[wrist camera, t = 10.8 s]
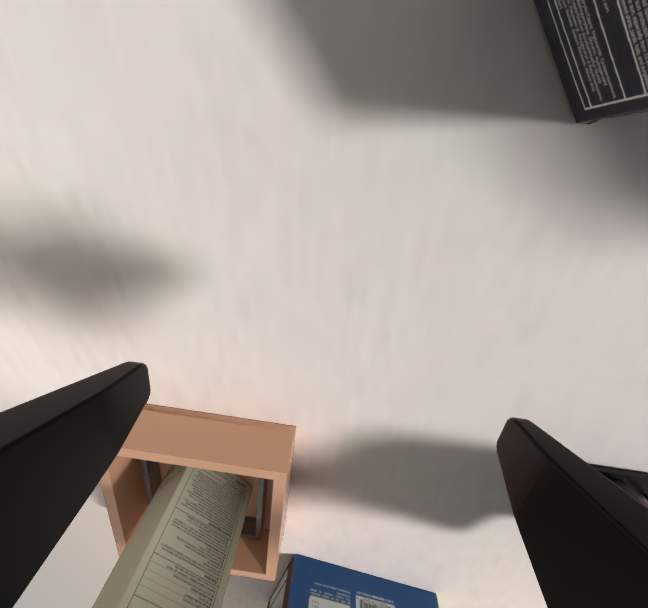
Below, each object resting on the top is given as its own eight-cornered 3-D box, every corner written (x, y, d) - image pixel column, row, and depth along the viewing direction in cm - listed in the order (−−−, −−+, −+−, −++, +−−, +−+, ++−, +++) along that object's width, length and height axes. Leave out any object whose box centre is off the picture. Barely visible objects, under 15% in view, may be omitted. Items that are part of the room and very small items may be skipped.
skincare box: (167, 469, 27) (38, 688, 16) (198, 444, 25) (79, 667, 14) (226, 508, 28) (146, 732, 17) (258, 487, 27) (194, 717, 16)
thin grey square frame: (269, 446, 25) (264, 463, 23) (264, 521, 29) (260, 539, 27) (149, 428, 25) (138, 443, 24) (160, 505, 29) (151, 522, 28)
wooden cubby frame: (296, 426, 24) (286, 473, 21) (284, 530, 30) (274, 581, 26) (128, 401, 25) (90, 443, 21) (147, 508, 30) (119, 556, 27)
